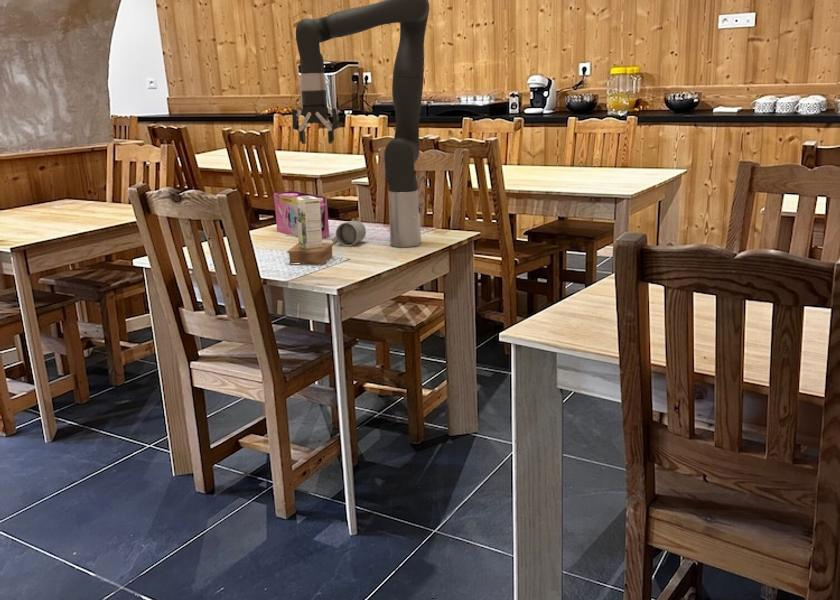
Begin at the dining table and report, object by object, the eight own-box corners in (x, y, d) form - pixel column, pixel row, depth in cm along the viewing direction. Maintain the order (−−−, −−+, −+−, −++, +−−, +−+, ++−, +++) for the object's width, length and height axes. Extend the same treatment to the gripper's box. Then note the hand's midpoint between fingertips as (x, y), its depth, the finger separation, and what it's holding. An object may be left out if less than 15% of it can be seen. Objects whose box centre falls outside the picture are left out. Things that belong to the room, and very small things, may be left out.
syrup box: (298, 246, 231) (294, 197, 227) (317, 243, 233) (314, 195, 229) (303, 249, 226) (300, 200, 222) (323, 247, 228) (320, 198, 224)
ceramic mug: (368, 241, 254) (366, 218, 251) (358, 247, 246) (356, 223, 244) (338, 240, 257) (336, 217, 255) (327, 246, 250) (325, 222, 248)
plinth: (334, 256, 235) (333, 243, 234) (324, 264, 225) (323, 251, 224) (299, 255, 237) (298, 242, 236) (288, 264, 227) (287, 251, 225)
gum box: (332, 237, 262) (330, 197, 258) (312, 241, 257) (309, 200, 253) (295, 228, 280) (292, 190, 276) (276, 231, 275) (272, 192, 271)
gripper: (287, 90, 234) (291, 145, 239) (333, 88, 232) (336, 144, 236) (294, 89, 241) (298, 142, 246) (339, 88, 239) (342, 142, 243)
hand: (317, 143), depth 241 cm, fingers open, 8 cm apart
